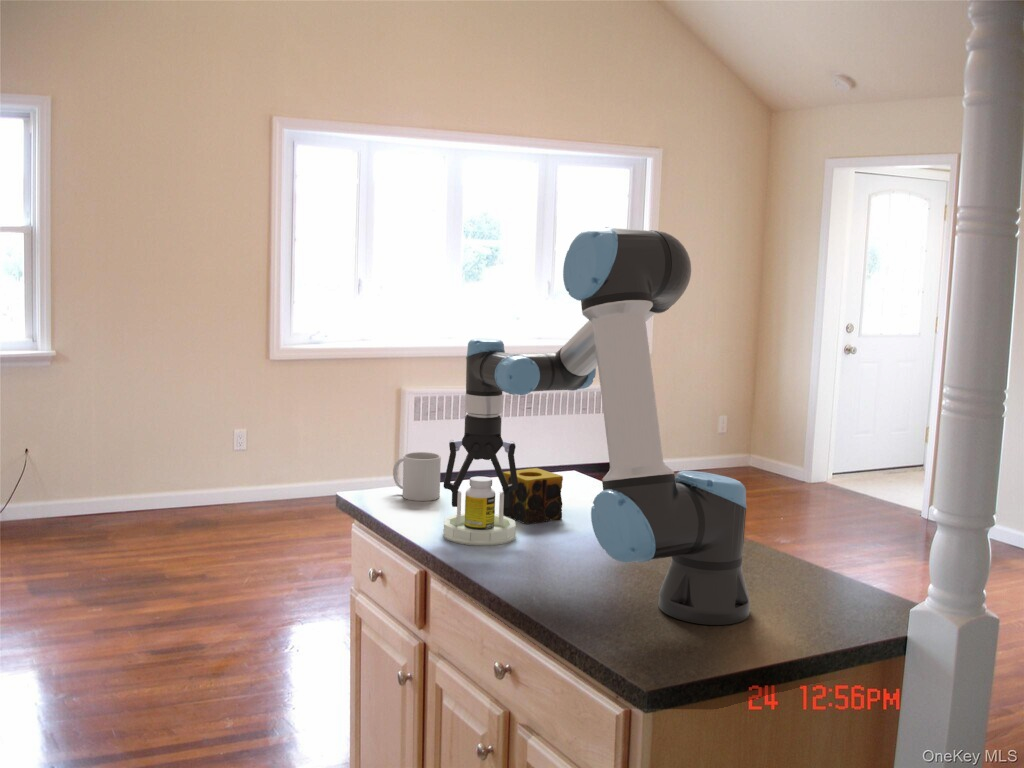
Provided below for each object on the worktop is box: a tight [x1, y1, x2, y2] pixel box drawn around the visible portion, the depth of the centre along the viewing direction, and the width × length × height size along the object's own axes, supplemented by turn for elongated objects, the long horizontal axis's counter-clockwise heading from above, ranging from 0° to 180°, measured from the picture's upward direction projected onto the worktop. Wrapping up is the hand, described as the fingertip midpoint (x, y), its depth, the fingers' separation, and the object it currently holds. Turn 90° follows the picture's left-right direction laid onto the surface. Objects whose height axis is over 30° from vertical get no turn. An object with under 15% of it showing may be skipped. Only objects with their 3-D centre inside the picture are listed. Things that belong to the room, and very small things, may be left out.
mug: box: [392, 451, 442, 502], centre depth 240 cm, size 11×10×10 cm
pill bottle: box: [464, 475, 496, 531], centre depth 208 cm, size 6×6×11 cm
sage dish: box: [442, 513, 517, 547], centre depth 209 cm, size 15×15×3 cm
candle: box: [501, 467, 564, 525], centre depth 225 cm, size 10×10×10 cm
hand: (479, 522), depth 209 cm, fingers open, 8 cm apart
